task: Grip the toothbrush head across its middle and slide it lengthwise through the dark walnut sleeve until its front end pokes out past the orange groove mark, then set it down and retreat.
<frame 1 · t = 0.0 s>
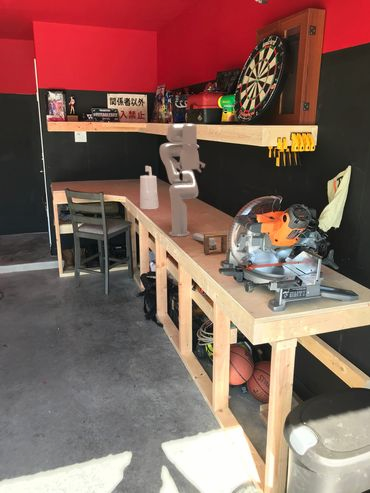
hand: (189, 180, 233), 37 cm above the workbench, tool pointing down, fingers open, 9 cm apart
walnut sleeve: (215, 252, 227), on the workbench
white pump bottle: (149, 207, 348), on the workbench
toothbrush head: (204, 244, 244), on the workbench
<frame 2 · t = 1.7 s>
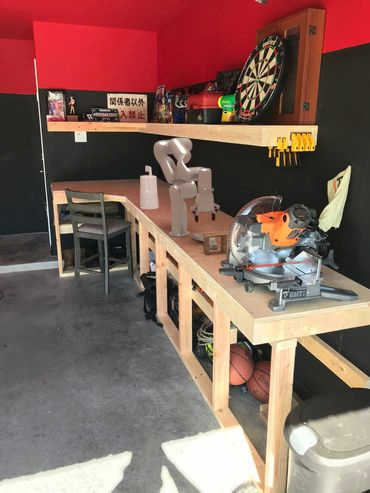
hand: (205, 221, 240), 13 cm above the workbench, tool pointing down, fingers open, 9 cm apart
nothing on the workbench moved.
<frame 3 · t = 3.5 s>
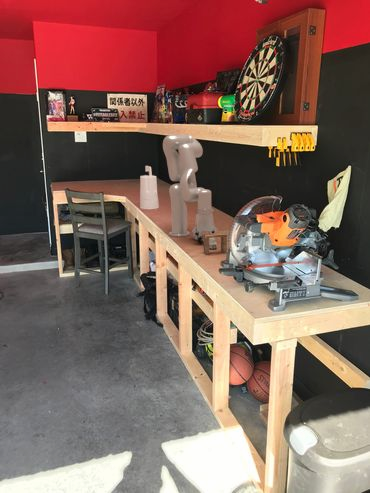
hand: (204, 242, 244), 1 cm above the workbench, tool pointing down, fingers closed on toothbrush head, 5 cm apart
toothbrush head: (204, 244, 244), on the workbench, touching gripper
everything else where it was.
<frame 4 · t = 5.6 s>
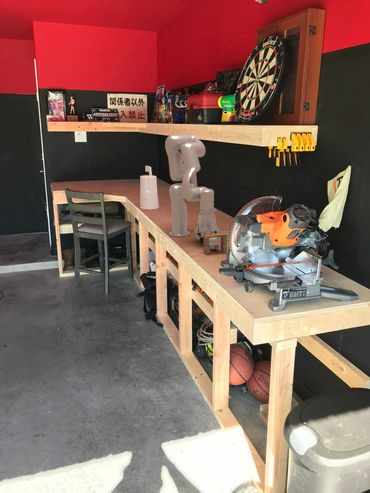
hand: (206, 242, 240), 2 cm above the workbench, tool pointing down, fingers closed on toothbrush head, 5 cm apart
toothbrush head: (206, 244, 240), point 1 cm above the workbench, touching gripper
everything else where it was.
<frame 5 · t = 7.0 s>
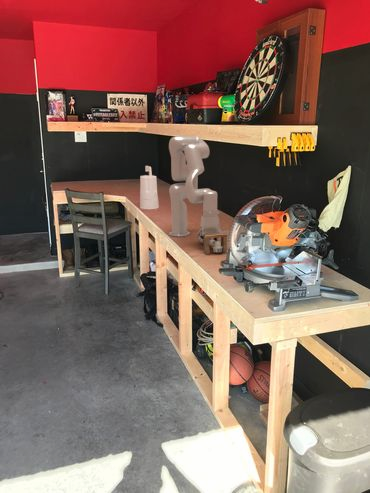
hand: (210, 245, 235), 2 cm above the workbench, tool pointing down, fingers closed on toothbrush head, 5 cm apart
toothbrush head: (209, 247, 235), on the workbench, touching gripper
everything else where it was.
when the fingers open (1 cm above the workbench, at t = 7.9 s): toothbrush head stays where it is, on the workbench.
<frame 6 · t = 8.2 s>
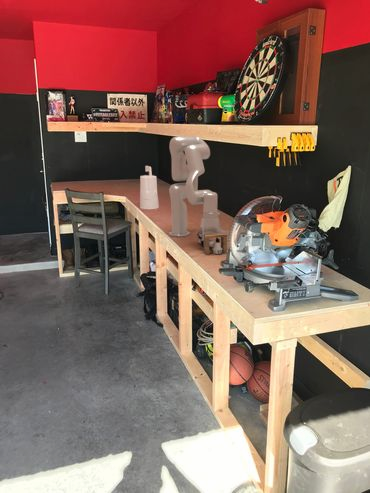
hand: (210, 246, 234), 1 cm above the workbench, tool pointing down, fingers open, 7 cm apart
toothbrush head: (209, 249, 235), on the workbench
everything else where it was.
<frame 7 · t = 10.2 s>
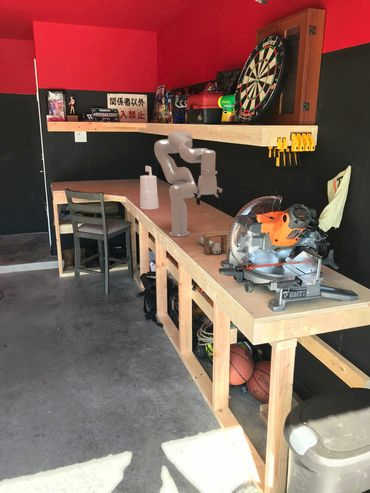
hand: (206, 204, 236), 23 cm above the workbench, tool pointing down, fingers open, 9 cm apart
nothing on the workbench moved.
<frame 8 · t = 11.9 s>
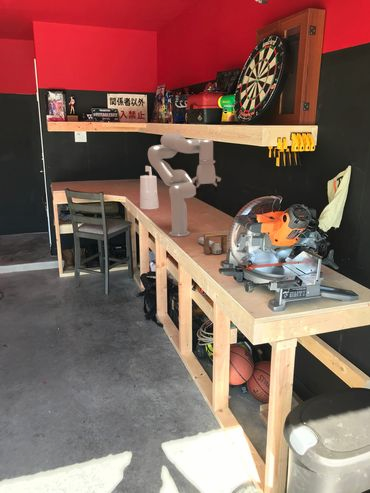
hand: (206, 193, 239), 28 cm above the workbench, tool pointing down, fingers open, 9 cm apart
nothing on the workbench moved.
at the end: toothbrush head 0.7 cm from the target spot, on the workbench; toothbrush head moved 9.4 cm from its start; the gripper is holding nothing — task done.
